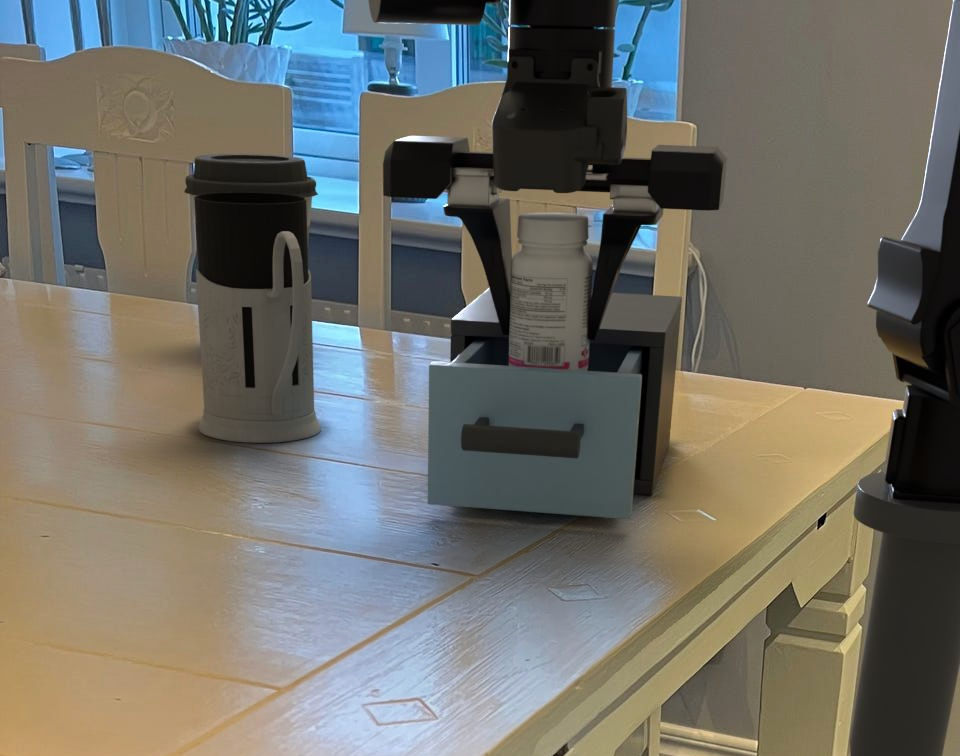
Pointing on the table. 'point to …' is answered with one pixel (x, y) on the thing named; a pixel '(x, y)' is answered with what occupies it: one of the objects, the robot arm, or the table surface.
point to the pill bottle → (550, 293)
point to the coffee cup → (251, 176)
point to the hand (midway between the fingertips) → (549, 336)
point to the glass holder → (255, 317)
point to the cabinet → (622, 324)
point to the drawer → (535, 432)
